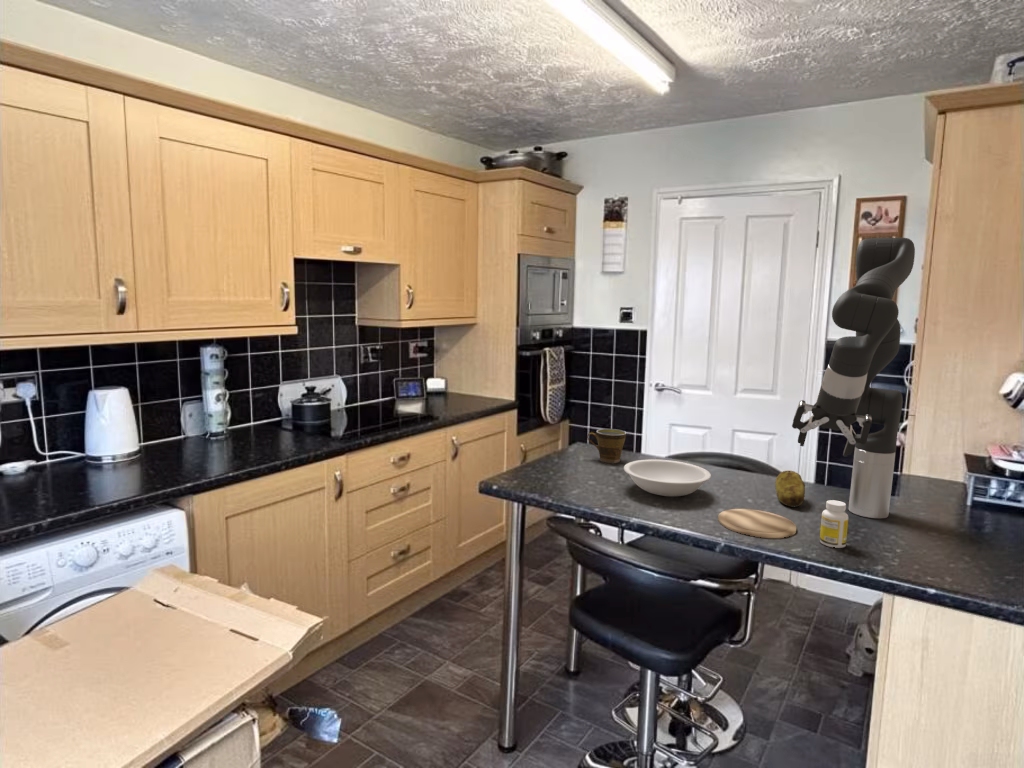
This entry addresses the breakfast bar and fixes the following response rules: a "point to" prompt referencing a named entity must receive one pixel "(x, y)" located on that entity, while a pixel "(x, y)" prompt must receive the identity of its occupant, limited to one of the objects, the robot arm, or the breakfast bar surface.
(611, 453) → the ceramic cup
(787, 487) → the potato
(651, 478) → the soup bowl
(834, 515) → the supplement bottle
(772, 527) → the round wooden board
